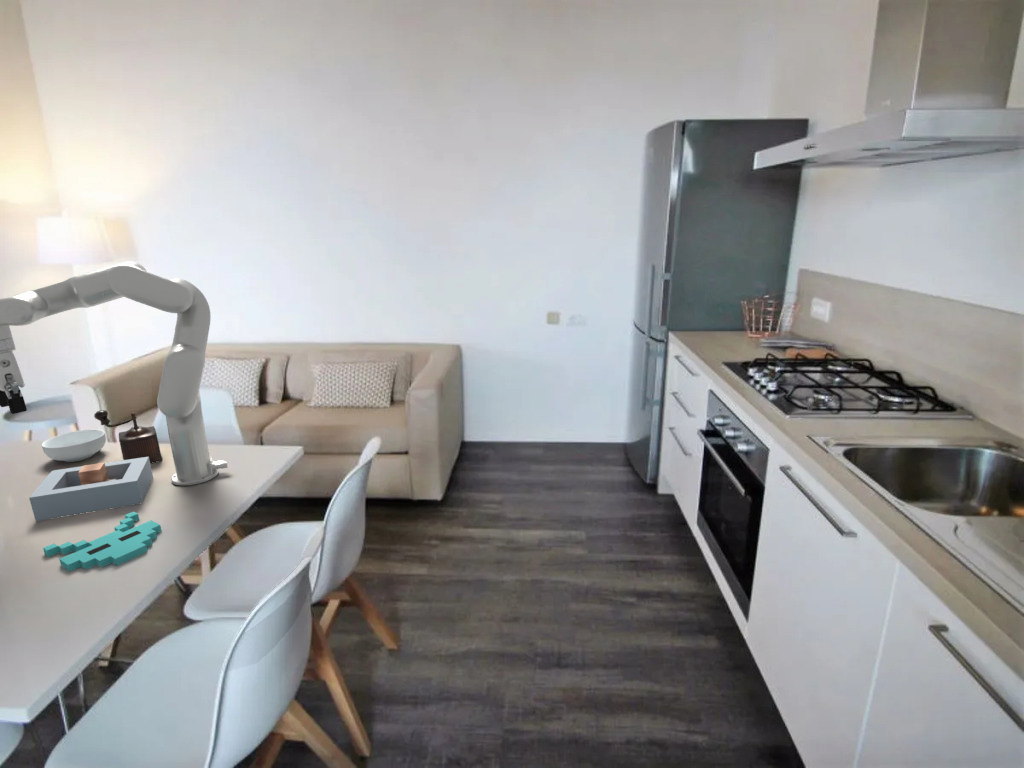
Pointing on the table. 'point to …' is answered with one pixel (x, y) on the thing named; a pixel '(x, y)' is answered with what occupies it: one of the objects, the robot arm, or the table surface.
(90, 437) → the cereal bowl
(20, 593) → the table surface
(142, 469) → the slot box
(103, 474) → the terracotta cube
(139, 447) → the brown manual coffee grinder
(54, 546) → the alien figure
